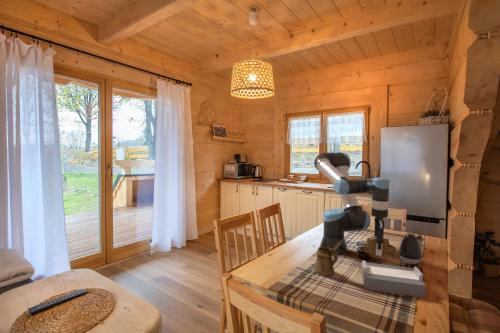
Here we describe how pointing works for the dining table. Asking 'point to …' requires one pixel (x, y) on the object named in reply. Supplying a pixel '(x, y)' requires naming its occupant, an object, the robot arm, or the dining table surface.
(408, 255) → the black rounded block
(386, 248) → the wooden carving
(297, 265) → the dining table surface
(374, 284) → the open storage tray
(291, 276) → the dining table surface
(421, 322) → the dining table surface
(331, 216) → the robot arm
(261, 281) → the dining table surface
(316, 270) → the wooden mug
